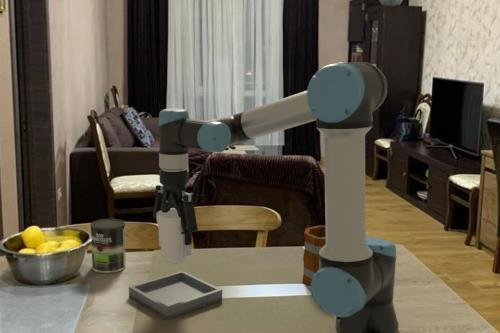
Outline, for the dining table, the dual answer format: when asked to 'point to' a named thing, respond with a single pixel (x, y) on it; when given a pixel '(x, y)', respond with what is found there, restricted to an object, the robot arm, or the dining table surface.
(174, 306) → the tray
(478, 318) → the dining table surface
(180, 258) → the foam cup
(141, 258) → the dining table surface
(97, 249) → the coffee can
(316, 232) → the mug
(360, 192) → the robot arm
